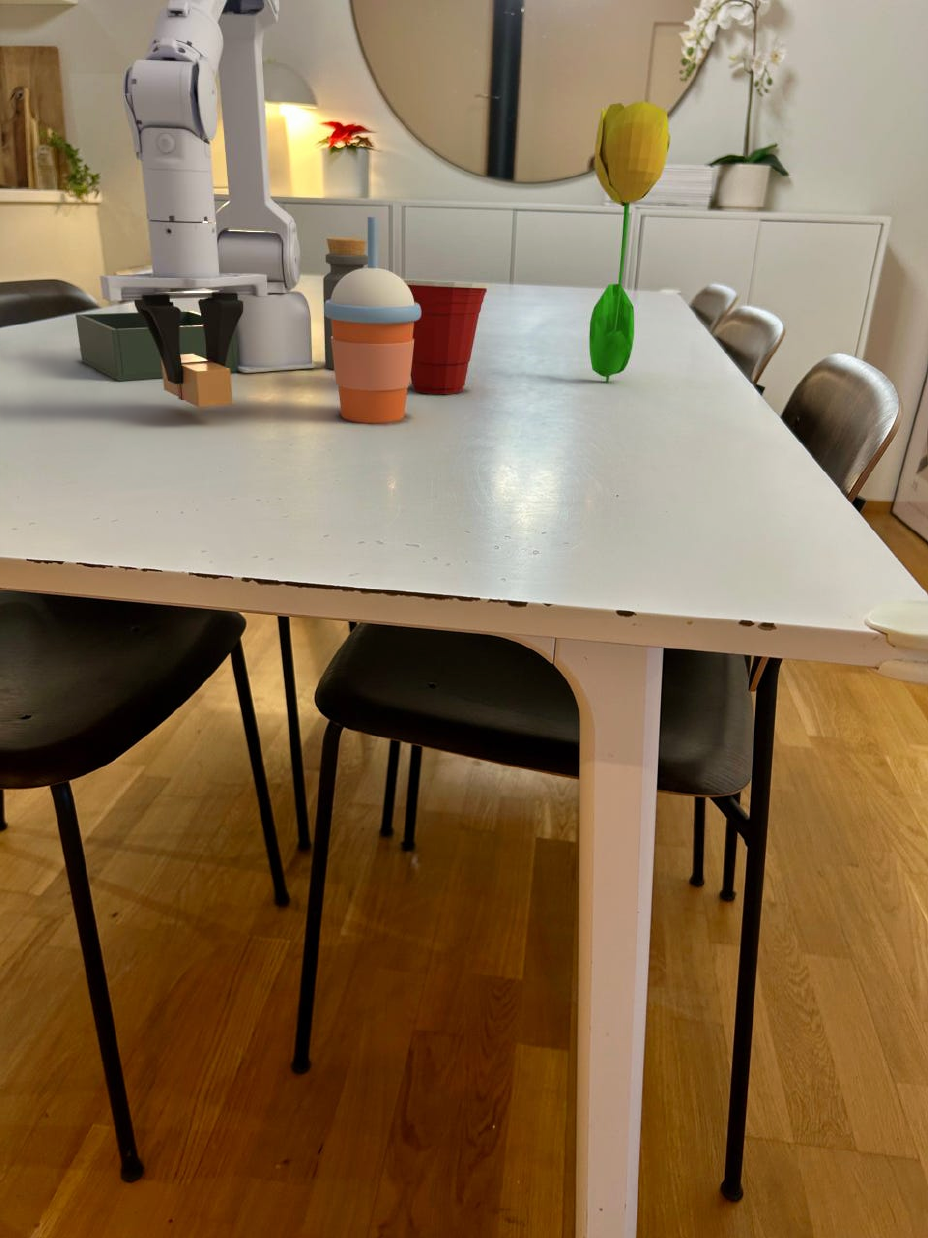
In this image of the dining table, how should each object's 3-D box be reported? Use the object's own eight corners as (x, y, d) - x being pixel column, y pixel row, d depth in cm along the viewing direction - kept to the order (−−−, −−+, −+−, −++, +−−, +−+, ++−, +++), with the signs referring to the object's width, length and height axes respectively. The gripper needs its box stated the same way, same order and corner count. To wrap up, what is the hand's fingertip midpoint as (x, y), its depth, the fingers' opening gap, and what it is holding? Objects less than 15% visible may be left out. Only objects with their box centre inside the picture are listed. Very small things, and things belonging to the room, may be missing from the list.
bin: (194, 354, 118) (190, 310, 116) (238, 372, 108) (235, 324, 106) (81, 361, 110) (75, 314, 108) (118, 381, 100) (111, 329, 98)
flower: (645, 390, 107) (681, 101, 95) (577, 387, 107) (604, 97, 95) (634, 377, 115) (666, 108, 103) (571, 374, 115) (595, 105, 103)
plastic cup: (488, 383, 107) (494, 276, 102) (481, 401, 98) (486, 283, 93) (398, 378, 108) (399, 271, 103) (382, 395, 98) (382, 278, 93)
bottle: (349, 372, 110) (347, 240, 104) (315, 366, 114) (311, 237, 107) (381, 367, 115) (381, 239, 108) (347, 361, 118) (345, 236, 111)
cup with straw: (405, 431, 84) (408, 219, 76) (312, 422, 85) (306, 214, 78) (428, 411, 92) (433, 218, 84) (343, 404, 94) (340, 214, 86)
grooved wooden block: (197, 387, 89) (194, 352, 88) (234, 405, 83) (231, 367, 81) (163, 390, 87) (159, 354, 86) (198, 409, 81) (194, 370, 79)
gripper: (110, 221, 72) (131, 394, 77) (278, 224, 79) (285, 381, 85) (85, 218, 77) (106, 380, 82) (245, 221, 85) (254, 369, 90)
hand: (195, 380), depth 84 cm, fingers closed on grooved wooden block, 3 cm apart
